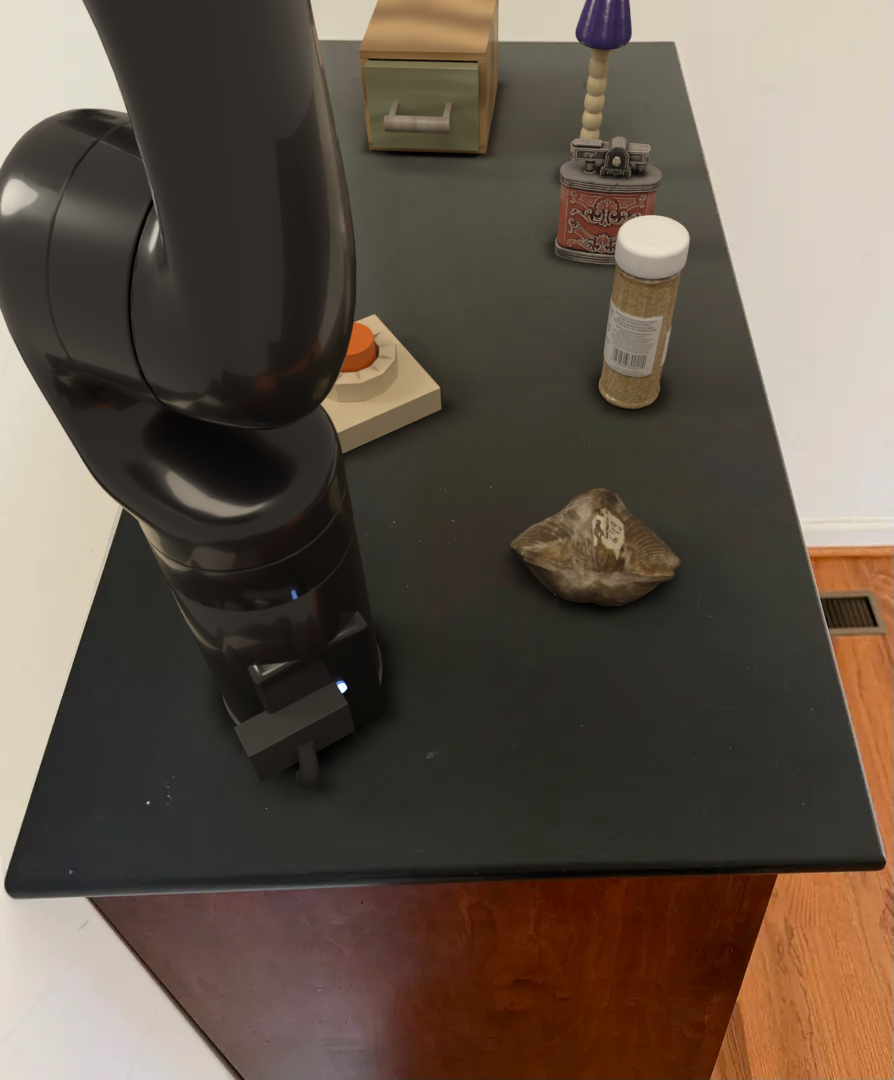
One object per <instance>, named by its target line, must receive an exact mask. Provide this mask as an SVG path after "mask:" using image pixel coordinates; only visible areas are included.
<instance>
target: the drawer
mask: <svg viewBox="0 0 894 1080" xmlns="http://www.w3.org/2000/svg"><path fill="white" fill-rule="evenodd" d="M364 71H365V81H366V91H367V100H368V110H369V120H370V129H371V139H372V147H373V148H393V149H425V150H456V151H479V146H480V108H479V63H477V61H459V60H413V59H377V61H368V60H367V61H366V63H365V65H364Z"/></svg>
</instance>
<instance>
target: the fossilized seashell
mask: <svg viewBox="0 0 894 1080" xmlns="http://www.w3.org/2000/svg"><path fill="white" fill-rule="evenodd" d="M509 549H510V550H511V551H512V552H514V553H515V554H516V555H517V556H518V557H519V558H520V559H521V560H522V562H523V563H524V565H525V566H526V568H527V569H528V570H529V572H530V573H531V575H532V576H533V577H534V579H536V581H538V582H539V583H540V584H541V585H542V586H544V587H545V588H546V589H547V590H548V591H549V592H550V593H552V594H554V595H555V596H557V597H558V598H561V599H563V600H565V601H568V602H571V603H579V604H589V603H594V604H595V605H598V606H604V607H620V606H624V605H627V604H630V603H632V602H636V601H638V600H639V599H640V598H642V597H644V596H645V595H647V594H649V593H650V592H652V591H653V590H655V589H656V588H657V587H658V586H659V585H660V584H661V583H664V582H668V581H671V580H672V579H673V578H674V577H675V576H676V575H675V571H676V570H678V569H679V568H681V566H682V559H681V558H680V557H679V556H678V555H677V554H676V552H674V551H673V549H672V548H671V547H670V546H669V545H667V543H665V541H664V540H662V539H661V538H660V537H659V535H657V533H656V532H654V531H653V530H652V529H651V528H650V527H649V526H648V525H646V524H645V523H644V522H643V521H641V520H640V519H639V518H638V517H637V516H636V515H634V514H632V512H630V510H629V509H628V508H627V506H626V504H625V503H624V501H623V499H622V497H621V496H620V495H619V494H618V492H616V491H614V490H613V489H608V488H605V487H600V486H599V487H592V488H591V489H589V490H587V491H582V492H581V493H578V494H577V495H576V496H574V497H573V498H572V499H571V500H570V501H569V502H568V503H567V504H566V506H565V507H563V508H562V509H561V510H559V511H558V512H557V513H555V514H553V515H551V516H549V517H546V518H544V519H542V520H541V521H539V522H537V523H534V524H532V525H530V526H529V527H528V528H527V529H525V530H524V531H523V532H522V533H520V534H519V535H518V536H516V537H515V538H514V539H513V540H511V542H510V544H509Z"/></svg>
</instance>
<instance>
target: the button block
mask: <svg viewBox="0 0 894 1080" xmlns="http://www.w3.org/2000/svg"><path fill="white" fill-rule="evenodd" d="M355 322H356V323H360V324H363V325H365V326H367V327H368V328H370V329H371V331H372V332H373V335H374V343H375V351H376V358H375V361H374V363H373V364H372V365H371V366H370V367H368V368H365V369H363V370H360V371H358V372H346V373H341V372H340V373H339V376H338V378H337V381H336V383H335V385H334V386H333V388H332V390H331V391H330V393H329V394H328V395H327V397H326V398H325V400H324V401H323V402H322V403H321V405H322V406H323V407H324V409H325V410H326V411H327V413H328V414H329V416H330V417H331V419H332V421H333V423H334V425H335V428H336V430H337V433H338V436H339V440H340V444H341V448H342V453H343V454H346V453H347V452H349V451H352V450H354V449H356V448H358V447H361V446H363V445H365V444H367V443H370V442H373V441H374V440H376V439H379V438H381V437H383V436H385V435H387V434H390V433H392V432H394V431H397V430H399V429H401V428H403V427H405V426H407V425H410V424H413V423H414V422H416V421H418V420H421V419H423V418H426V417H428V416H430V415H432V414H435V413H436V412H438V411H441V410H442V398H441V397H442V396H441V387H440V386H439V384H438V383H437V382H436V381H435V380H434V379H433V378H432V376H431V375H430V374H429V373H428V372H427V371H426V369H424V368H423V366H422V365H421V364H420V363H419V362H418V361H417V360H416V359H415V358H414V356H413V355H412V354H411V353H410V352H409V351H408V350H407V348H406V347H405V346H404V345H403V344H402V343H401V341H400V340H398V338H397V337H396V336H395V335H394V334H393V333H392V332H391V330H390V329H389V328H388V327H387V326H386V324H384V323H383V322H382V320H381V319H380V318H379V317H378V316H377V315H376V314H375V313H374V314H371V315H369V316H366V317H364V318H361V319H359V320H356V321H355Z"/></svg>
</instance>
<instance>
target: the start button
mask: <svg viewBox="0 0 894 1080" xmlns="http://www.w3.org/2000/svg"><path fill="white" fill-rule="evenodd" d="M375 358H376V351H375V343H374V335H373V332H372V331H371V329H370V328H368V327H367V326H365V325H363V324H360V323H356V321H354V323H353V330H352V334H351V339H350V343H349V347H348V351H347V355H346V359H345V361H344V364H343V366H342V369H341V371H340V372H341V373H346V372H358V371H360V370H363V369H365V368H368V367H370V366H371V365H372V364H373V363H374V361H375Z"/></svg>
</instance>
